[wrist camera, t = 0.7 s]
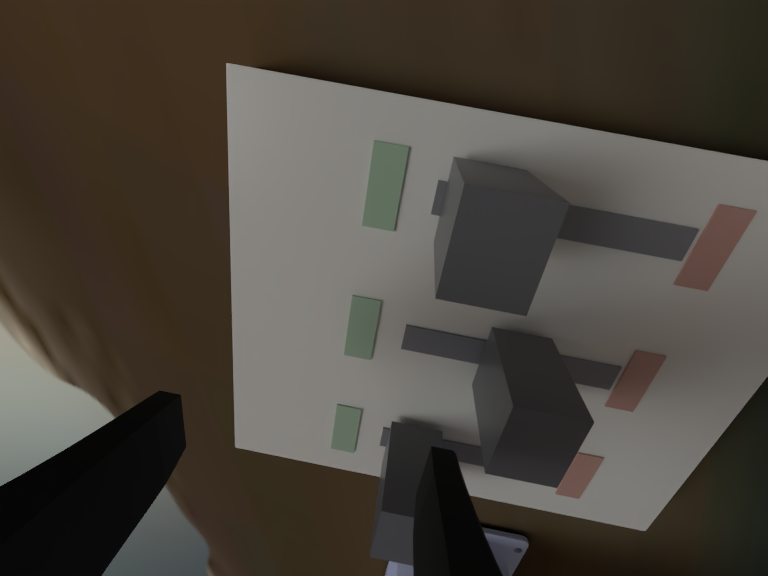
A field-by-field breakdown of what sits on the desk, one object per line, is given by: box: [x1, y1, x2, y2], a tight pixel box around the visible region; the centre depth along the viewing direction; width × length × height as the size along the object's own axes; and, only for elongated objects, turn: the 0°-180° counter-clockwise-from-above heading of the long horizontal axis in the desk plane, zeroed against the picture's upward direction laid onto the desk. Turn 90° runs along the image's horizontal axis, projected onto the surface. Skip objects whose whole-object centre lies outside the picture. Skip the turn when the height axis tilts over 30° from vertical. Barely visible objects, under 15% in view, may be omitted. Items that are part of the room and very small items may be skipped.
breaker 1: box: [370, 421, 443, 566], centre depth 17 cm, size 3×2×4 cm
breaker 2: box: [434, 157, 570, 316], centre depth 11 cm, size 3×2×4 cm
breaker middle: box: [472, 327, 594, 488], centre depth 14 cm, size 3×2×4 cm
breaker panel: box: [226, 63, 768, 531], centre depth 17 cm, size 18×22×2 cm
